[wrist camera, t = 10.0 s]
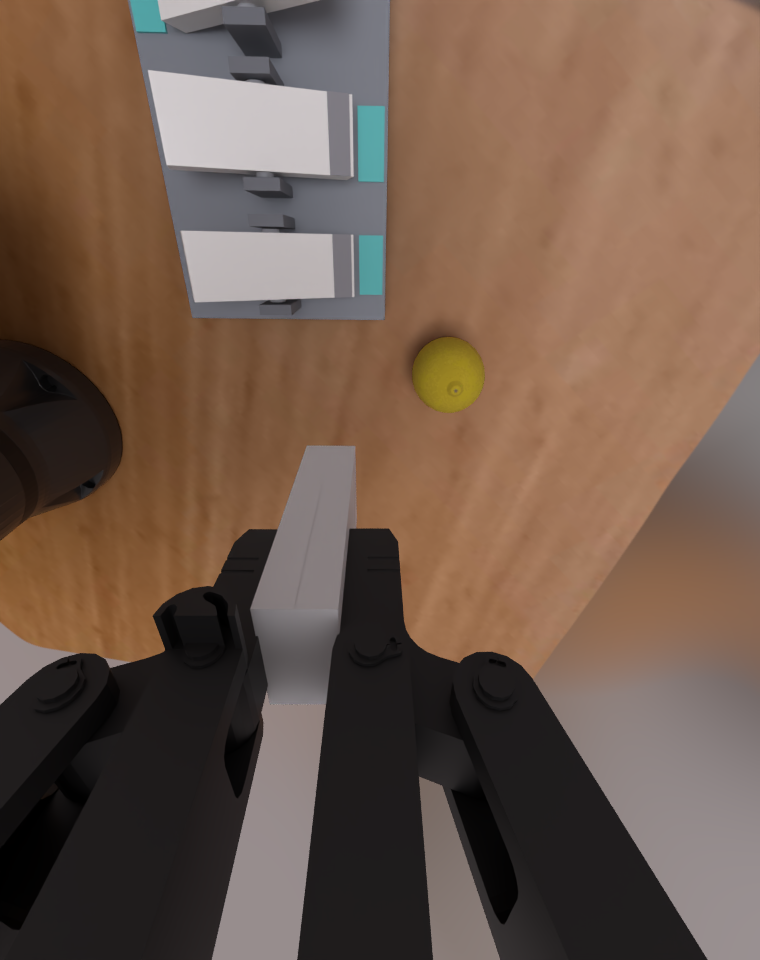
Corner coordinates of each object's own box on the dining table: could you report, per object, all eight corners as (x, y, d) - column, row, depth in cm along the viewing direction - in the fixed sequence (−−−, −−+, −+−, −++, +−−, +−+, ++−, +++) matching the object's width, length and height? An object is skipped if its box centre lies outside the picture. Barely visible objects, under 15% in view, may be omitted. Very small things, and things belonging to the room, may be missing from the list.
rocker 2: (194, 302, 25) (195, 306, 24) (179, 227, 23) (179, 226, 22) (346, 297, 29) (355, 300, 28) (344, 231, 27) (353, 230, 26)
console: (211, 310, 33) (168, 327, 26) (143, -67, 23) (45, -200, 16) (383, 312, 33) (385, 329, 26) (389, -61, 23) (395, -190, 17)
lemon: (396, 354, 35) (401, 381, 28) (452, 315, 34) (472, 333, 27) (429, 404, 37) (441, 441, 30) (483, 370, 36) (509, 400, 29)
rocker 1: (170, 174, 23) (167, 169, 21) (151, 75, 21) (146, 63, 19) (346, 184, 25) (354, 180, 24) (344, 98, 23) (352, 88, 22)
